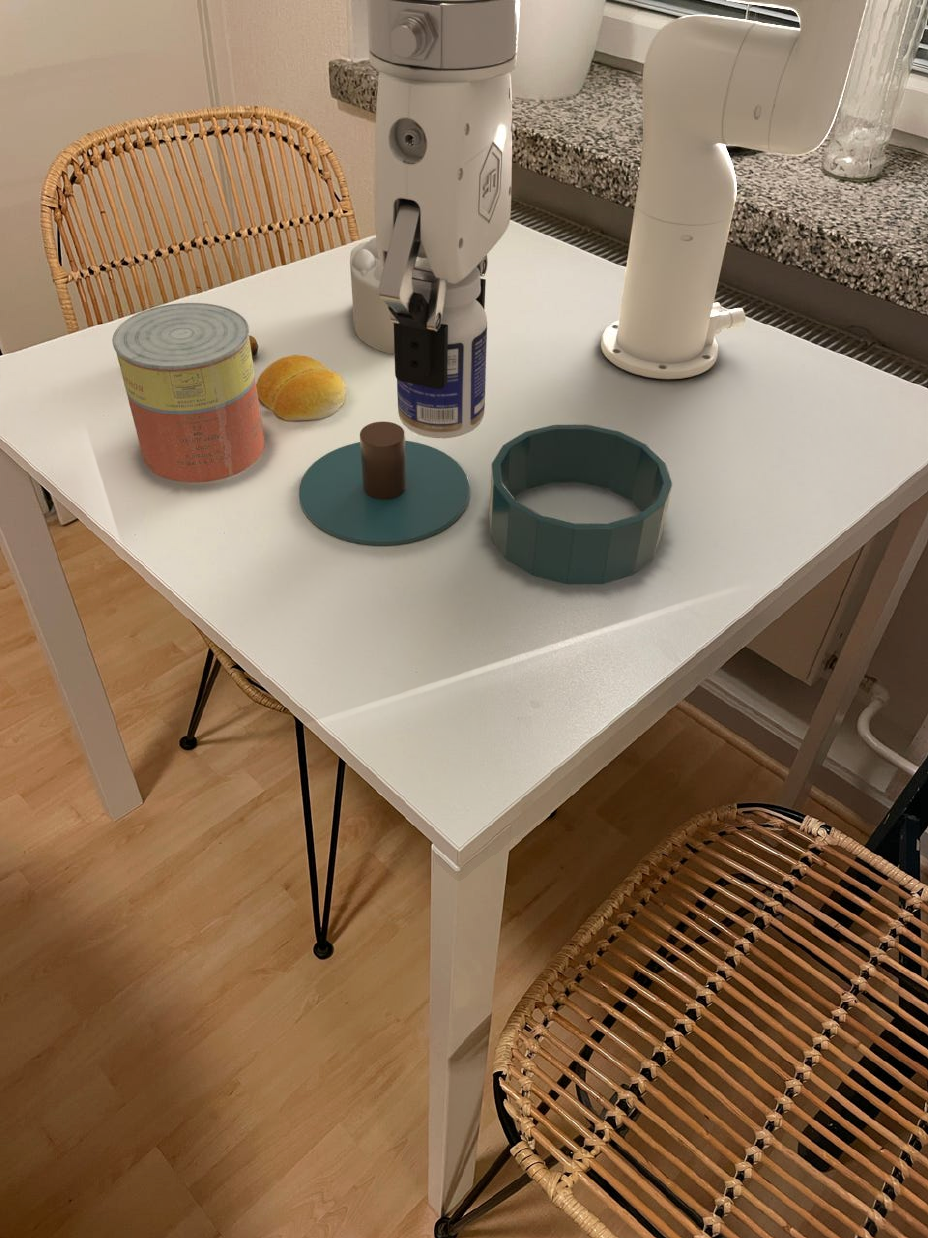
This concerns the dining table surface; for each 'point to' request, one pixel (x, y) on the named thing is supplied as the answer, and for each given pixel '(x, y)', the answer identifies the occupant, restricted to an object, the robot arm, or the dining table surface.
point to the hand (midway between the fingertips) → (440, 355)
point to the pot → (567, 545)
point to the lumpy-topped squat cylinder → (370, 298)
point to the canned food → (191, 390)
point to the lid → (384, 489)
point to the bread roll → (301, 389)
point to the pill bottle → (452, 366)
